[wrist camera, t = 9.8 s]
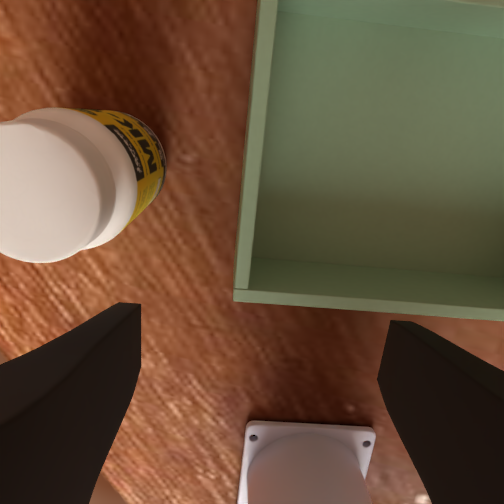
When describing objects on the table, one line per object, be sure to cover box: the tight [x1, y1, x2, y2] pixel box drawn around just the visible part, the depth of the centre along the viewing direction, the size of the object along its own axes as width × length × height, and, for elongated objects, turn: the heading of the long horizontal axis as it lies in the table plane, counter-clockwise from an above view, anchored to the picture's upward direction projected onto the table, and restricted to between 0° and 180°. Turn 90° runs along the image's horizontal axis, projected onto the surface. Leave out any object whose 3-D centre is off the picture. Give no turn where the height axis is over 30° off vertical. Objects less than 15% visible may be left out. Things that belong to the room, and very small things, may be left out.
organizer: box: [233, 0, 504, 321], centre depth 17 cm, size 12×15×4 cm
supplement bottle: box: [0, 108, 166, 263], centre depth 15 cm, size 5×5×8 cm
